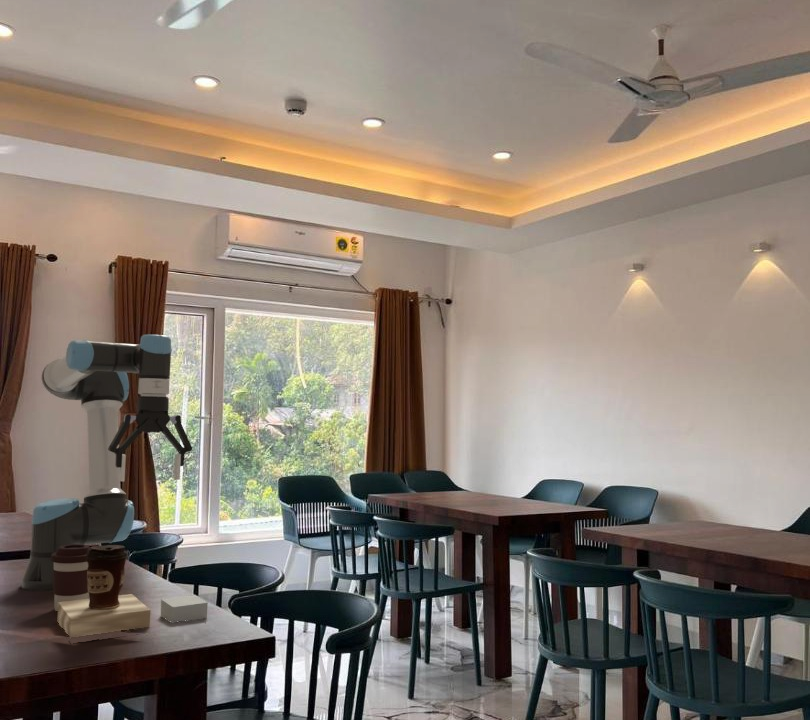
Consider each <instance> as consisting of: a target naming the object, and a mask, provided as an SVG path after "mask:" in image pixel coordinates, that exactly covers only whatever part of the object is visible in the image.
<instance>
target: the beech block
mask: <svg viewBox="0 0 810 720" xmlns="http://www.w3.org/2000/svg"><path fill="white" fill-rule="evenodd" d="M118 600H119V603H120V606H118V607H115V608H109V609H95V608H90V607H89V602H90V598H88V599H82V600H73V601H64V602H58V612H57V617H56V619H57V621H56V623H57V622H58V623H59V624H58V623H57V624H58V625H59V626H60V627H61V629H62V628H63V629H64V630H65V631H64V630H63V629H62V630H63V631H64V633H66V635H67V634H68V635H69V636H70V638H71V637H79V636H86V635H93V634H101V633H108V632H114V631H121V630H127V631H130V630H129V629H134V630H136V629H135V628H142V629H144V628H143V627H149V628H150V625H151V609H150V608H149V607H148V606H147V605H145V604H144V603H143V602H142V601H141V600H139V598H137V597H136V596H135V595H134V594H132V593H129V594H119V596H118ZM68 635H67V636H68Z"/></svg>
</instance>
